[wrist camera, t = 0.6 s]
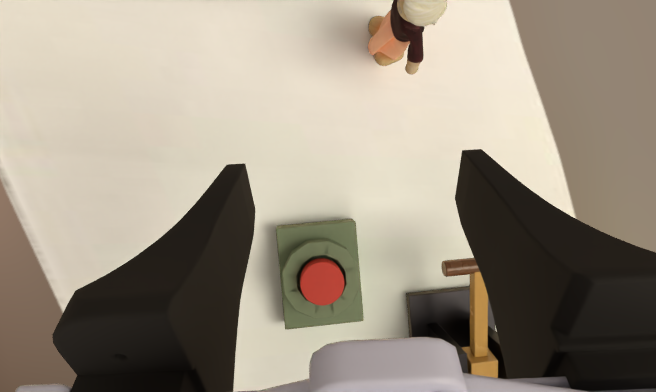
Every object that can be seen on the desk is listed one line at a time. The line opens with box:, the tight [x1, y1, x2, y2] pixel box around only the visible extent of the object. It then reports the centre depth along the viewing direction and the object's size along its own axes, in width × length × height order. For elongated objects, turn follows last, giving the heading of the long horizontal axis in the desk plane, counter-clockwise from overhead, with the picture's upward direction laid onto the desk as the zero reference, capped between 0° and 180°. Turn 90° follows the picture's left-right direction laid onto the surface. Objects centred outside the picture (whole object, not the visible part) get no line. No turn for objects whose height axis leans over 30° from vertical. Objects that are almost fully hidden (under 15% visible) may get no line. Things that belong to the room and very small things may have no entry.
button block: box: [276, 219, 364, 329], centre depth 40 cm, size 9×7×4 cm
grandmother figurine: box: [368, 0, 447, 74], centre depth 35 cm, size 8×4×13 cm, turn 21°
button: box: [300, 258, 344, 305], centre depth 38 cm, size 4×4×2 cm
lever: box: [442, 258, 498, 378], centre depth 36 cm, size 11×6×2 cm, turn 5°
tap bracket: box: [406, 286, 507, 379], centre depth 39 cm, size 10×8×8 cm
